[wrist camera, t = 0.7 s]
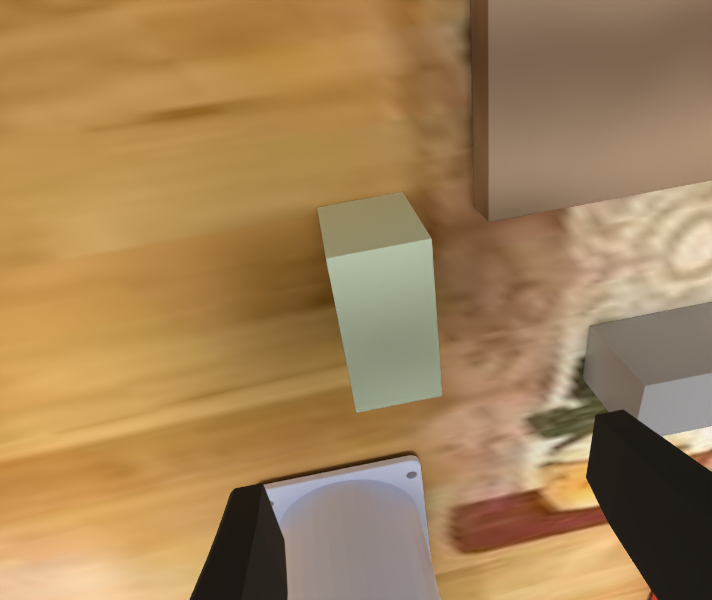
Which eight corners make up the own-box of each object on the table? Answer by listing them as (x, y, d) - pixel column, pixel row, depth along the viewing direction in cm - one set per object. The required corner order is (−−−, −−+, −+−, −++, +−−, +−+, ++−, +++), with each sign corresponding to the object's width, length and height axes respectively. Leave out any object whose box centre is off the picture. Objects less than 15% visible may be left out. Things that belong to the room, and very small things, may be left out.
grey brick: (721, 298, 22) (801, 354, 18) (705, 351, 23) (776, 412, 20) (588, 324, 22) (645, 386, 18) (581, 376, 23) (632, 442, 20)
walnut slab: (680, 161, 19) (720, 178, 17) (469, 200, 18) (488, 222, 17) (737, -114, 14) (798, -128, 13) (463, -68, 14) (488, -76, 12)
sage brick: (415, 329, 21) (442, 395, 17) (343, 343, 20) (356, 412, 17) (402, 190, 17) (431, 238, 14) (316, 206, 17) (326, 258, 14)
